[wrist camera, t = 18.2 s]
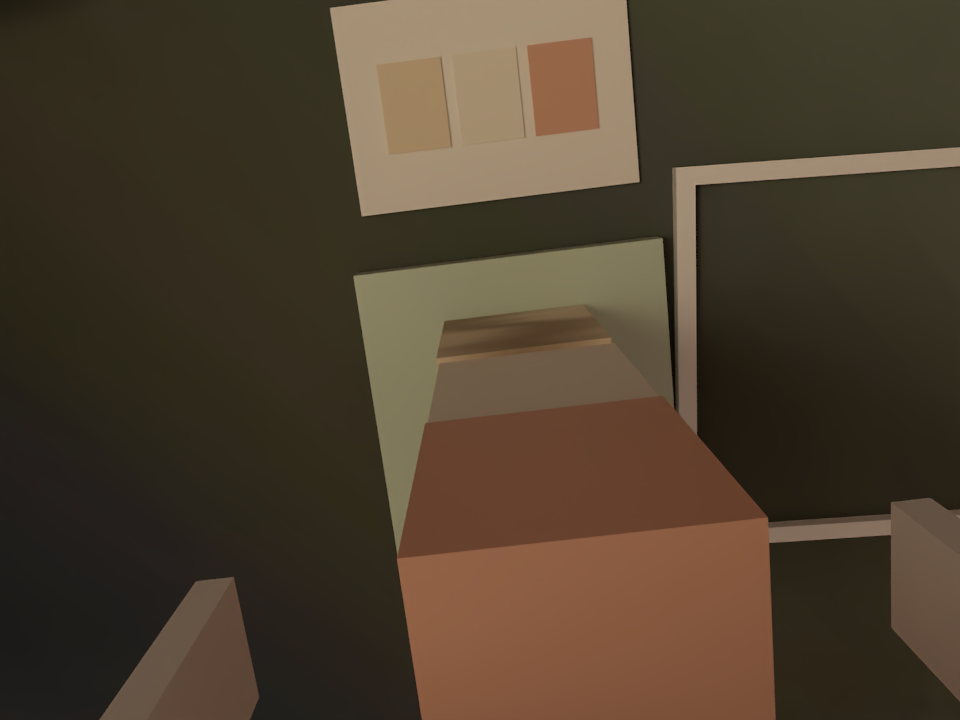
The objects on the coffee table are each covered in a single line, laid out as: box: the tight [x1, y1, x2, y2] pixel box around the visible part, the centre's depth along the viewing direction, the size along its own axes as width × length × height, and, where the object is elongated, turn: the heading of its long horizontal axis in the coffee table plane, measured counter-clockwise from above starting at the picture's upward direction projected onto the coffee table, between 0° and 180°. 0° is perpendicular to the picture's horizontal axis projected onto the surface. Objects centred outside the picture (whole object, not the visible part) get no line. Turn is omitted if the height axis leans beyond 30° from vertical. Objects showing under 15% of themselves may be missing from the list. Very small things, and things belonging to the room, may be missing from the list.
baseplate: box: [353, 236, 674, 555], centre depth 29 cm, size 11×11×1 cm
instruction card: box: [330, 0, 640, 216], centre depth 27 cm, size 10×7×1 cm
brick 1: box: [436, 304, 612, 368], centre depth 26 cm, size 5×7×6 cm
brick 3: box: [397, 396, 776, 720], centre depth 14 cm, size 5×7×6 cm
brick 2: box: [428, 343, 659, 423], centre depth 20 cm, size 5×7×6 cm
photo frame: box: [672, 147, 960, 543], centre depth 29 cm, size 15×1×18 cm
